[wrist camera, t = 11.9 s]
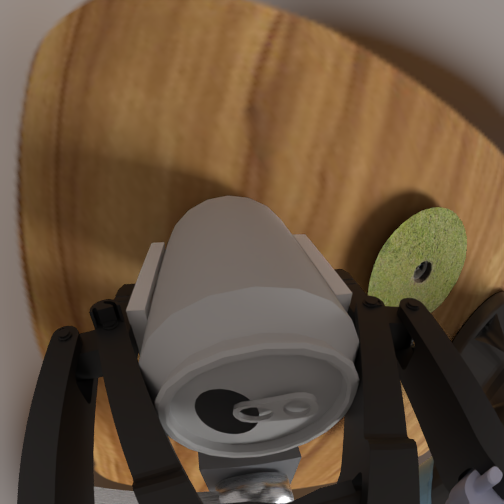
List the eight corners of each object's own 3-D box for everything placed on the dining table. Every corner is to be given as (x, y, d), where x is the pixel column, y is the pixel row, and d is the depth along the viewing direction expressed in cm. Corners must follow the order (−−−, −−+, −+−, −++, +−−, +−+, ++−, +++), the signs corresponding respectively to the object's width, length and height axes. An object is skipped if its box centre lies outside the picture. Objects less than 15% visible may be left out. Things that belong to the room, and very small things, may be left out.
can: (148, 218, 16) (76, 375, 6) (268, 174, 16) (380, 278, 6) (196, 314, 20) (201, 478, 9) (298, 278, 20) (378, 427, 9)
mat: (331, 272, 21) (342, 285, 20) (427, 172, 19) (443, 177, 17) (391, 332, 26) (400, 344, 24) (465, 254, 24) (477, 263, 22)
